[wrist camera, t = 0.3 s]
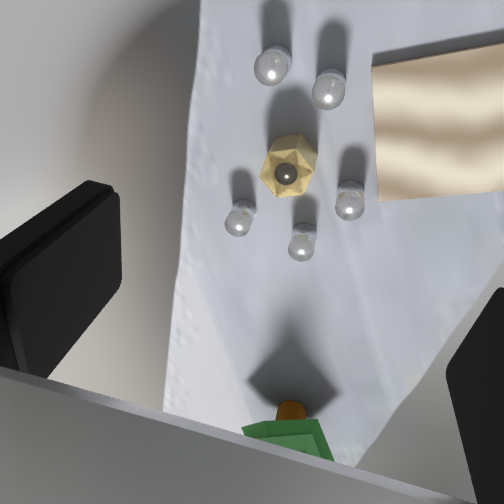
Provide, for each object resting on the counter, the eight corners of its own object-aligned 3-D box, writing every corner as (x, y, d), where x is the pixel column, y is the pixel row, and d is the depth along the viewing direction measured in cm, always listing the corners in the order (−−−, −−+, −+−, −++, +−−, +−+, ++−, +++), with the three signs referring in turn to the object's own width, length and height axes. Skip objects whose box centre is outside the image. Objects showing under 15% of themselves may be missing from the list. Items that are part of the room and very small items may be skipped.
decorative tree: (331, 441, 73) (317, 671, 48) (247, 421, 75) (193, 632, 51) (344, 394, 65) (336, 639, 41) (250, 374, 68) (189, 594, 43)
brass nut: (263, 139, 45) (254, 154, 41) (315, 131, 43) (310, 147, 39) (271, 180, 48) (263, 199, 43) (320, 175, 46) (316, 193, 42)
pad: (371, 66, 39) (371, 68, 38) (540, 35, 35) (544, 36, 34) (377, 197, 46) (378, 201, 45) (518, 184, 42) (522, 188, 41)
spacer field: (195, 62, 42) (181, 68, 39) (352, 28, 37) (352, 33, 34) (242, 247, 54) (235, 264, 50) (367, 239, 49) (367, 258, 46)
